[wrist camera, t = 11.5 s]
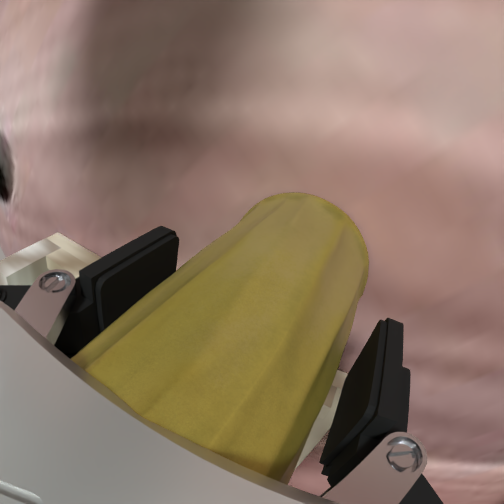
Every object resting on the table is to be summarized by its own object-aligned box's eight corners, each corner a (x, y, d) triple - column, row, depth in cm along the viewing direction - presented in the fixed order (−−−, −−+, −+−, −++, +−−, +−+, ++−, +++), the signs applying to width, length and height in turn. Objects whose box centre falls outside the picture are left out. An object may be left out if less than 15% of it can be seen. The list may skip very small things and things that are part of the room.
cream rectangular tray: (358, 377, 15) (332, 475, 10) (290, 467, 21) (261, 529, 16) (58, 232, 21) (-7, 264, 16) (75, 345, 26) (31, 379, 21)
